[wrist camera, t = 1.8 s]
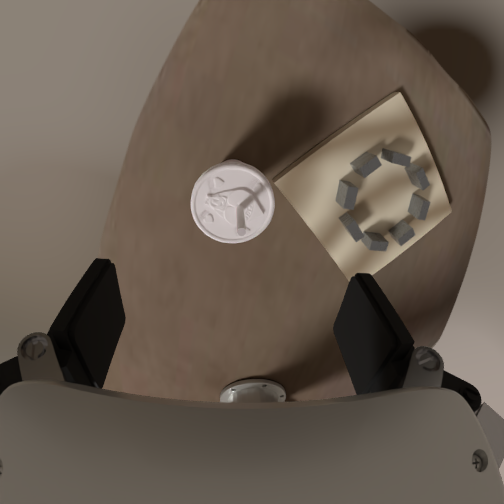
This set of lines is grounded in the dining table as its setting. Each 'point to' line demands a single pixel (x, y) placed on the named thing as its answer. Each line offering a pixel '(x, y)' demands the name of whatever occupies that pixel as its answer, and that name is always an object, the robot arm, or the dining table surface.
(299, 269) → the dining table surface
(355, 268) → the socket plate
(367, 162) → the grey blocks
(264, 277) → the dining table surface
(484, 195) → the dining table surface
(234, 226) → the smoothie
